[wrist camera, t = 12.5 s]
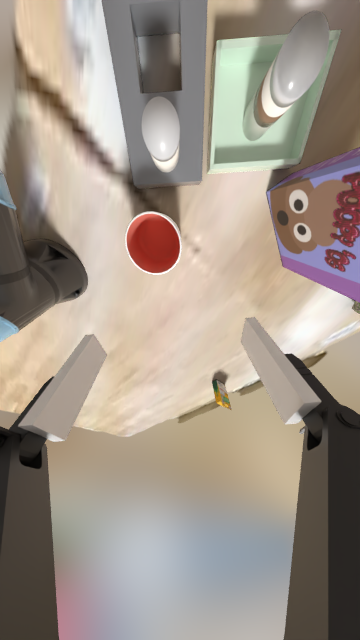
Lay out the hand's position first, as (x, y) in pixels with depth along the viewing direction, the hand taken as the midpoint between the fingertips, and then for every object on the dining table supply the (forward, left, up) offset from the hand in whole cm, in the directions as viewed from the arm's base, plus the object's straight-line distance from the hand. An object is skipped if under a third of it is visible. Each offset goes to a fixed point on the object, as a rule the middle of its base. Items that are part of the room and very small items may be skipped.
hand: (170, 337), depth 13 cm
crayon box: (+18, -59, -29) cm, 68 cm away
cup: (-3, +5, -29) cm, 29 cm away
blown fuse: (+14, +21, -28) cm, 38 cm away
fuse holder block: (0, +22, -29) cm, 36 cm away
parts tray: (+15, +21, -29) cm, 38 cm away
